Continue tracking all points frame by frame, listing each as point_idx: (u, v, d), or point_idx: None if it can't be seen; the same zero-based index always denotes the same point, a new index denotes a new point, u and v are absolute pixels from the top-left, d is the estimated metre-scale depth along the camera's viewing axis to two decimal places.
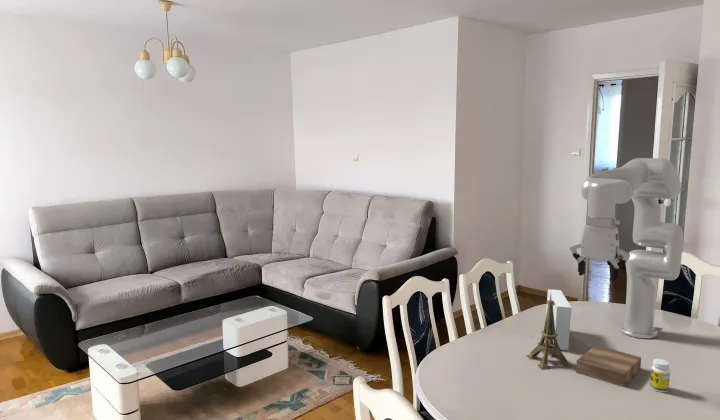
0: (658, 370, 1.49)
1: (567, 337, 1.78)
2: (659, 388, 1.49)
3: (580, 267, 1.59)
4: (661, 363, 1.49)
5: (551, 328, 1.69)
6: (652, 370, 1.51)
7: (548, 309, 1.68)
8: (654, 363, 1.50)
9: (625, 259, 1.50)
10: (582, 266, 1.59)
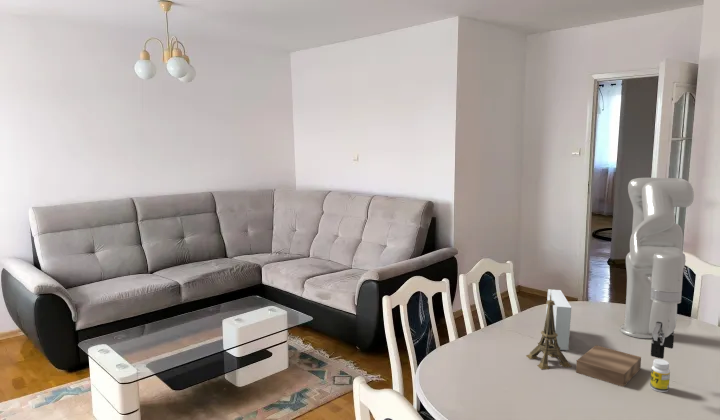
0: (658, 370, 1.49)
1: (567, 337, 1.78)
2: (659, 388, 1.49)
3: (663, 349, 1.45)
4: (662, 363, 1.49)
5: (551, 328, 1.69)
6: (652, 370, 1.51)
7: (548, 309, 1.68)
8: (654, 363, 1.50)
9: None
10: None
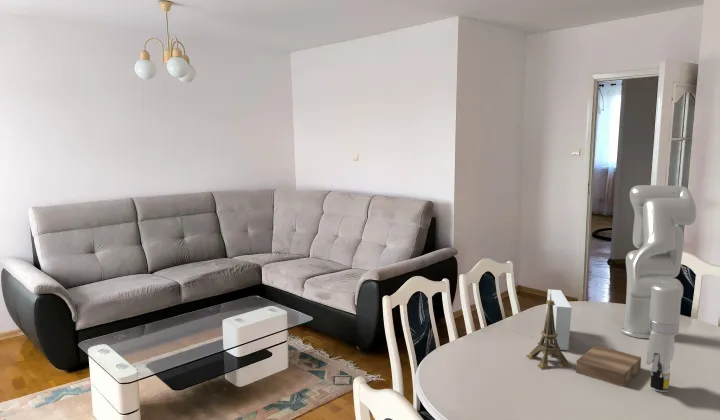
0: (658, 369, 1.49)
1: (567, 337, 1.78)
2: None
3: (663, 381, 1.48)
4: None
5: (551, 328, 1.69)
6: None
7: (548, 309, 1.68)
8: None
9: None
10: None
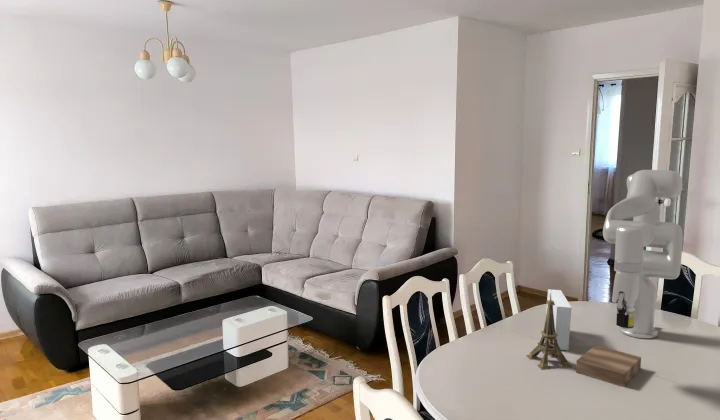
0: None
1: (567, 337, 1.78)
2: None
3: (628, 319, 1.54)
4: None
5: (551, 328, 1.69)
6: None
7: (548, 309, 1.68)
8: None
9: None
10: None
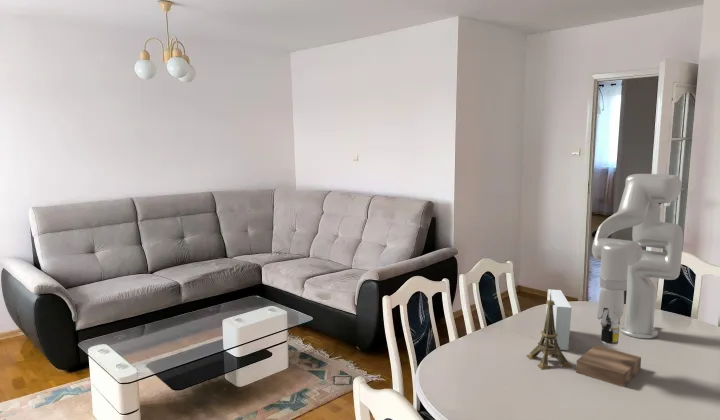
0: None
1: (567, 337, 1.78)
2: None
3: (612, 335, 1.58)
4: None
5: (551, 328, 1.69)
6: None
7: (548, 309, 1.68)
8: None
9: None
10: None
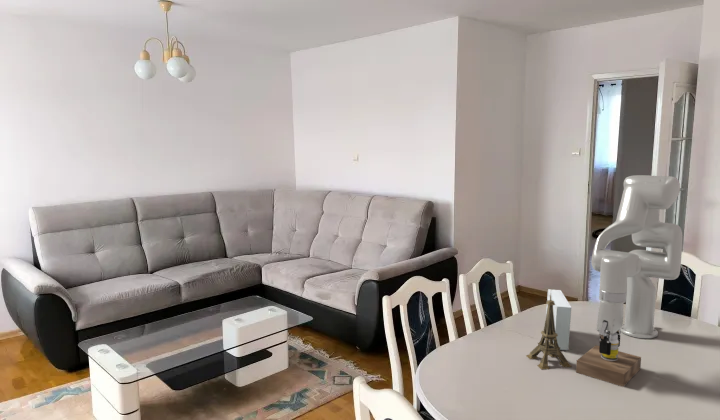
0: None
1: (567, 337, 1.78)
2: (608, 357, 1.61)
3: (610, 346, 1.58)
4: None
5: (551, 328, 1.69)
6: None
7: (548, 309, 1.68)
8: None
9: None
10: None
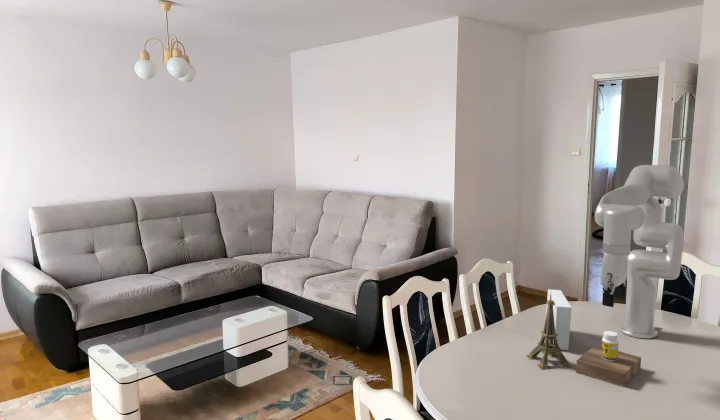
0: (607, 340, 1.60)
1: (567, 337, 1.78)
2: (608, 357, 1.61)
3: (613, 298, 1.56)
4: (610, 334, 1.60)
5: (551, 328, 1.69)
6: (602, 341, 1.62)
7: (548, 309, 1.68)
8: (604, 334, 1.62)
9: None
10: None
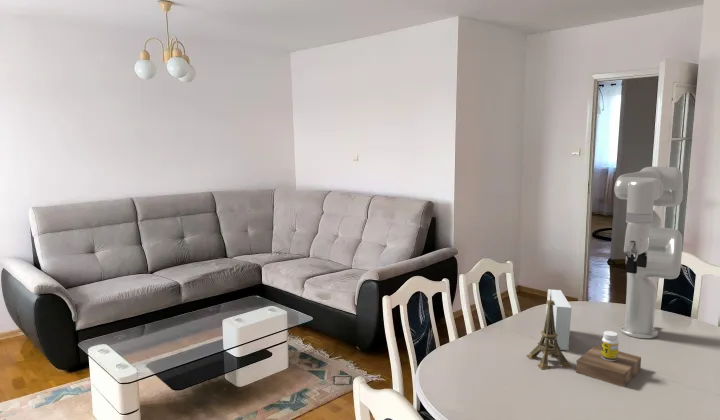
0: (607, 340, 1.61)
1: (567, 337, 1.78)
2: (608, 357, 1.61)
3: (637, 265, 1.63)
4: (610, 334, 1.60)
5: (551, 328, 1.69)
6: (602, 341, 1.62)
7: (548, 309, 1.68)
8: (604, 334, 1.62)
9: None
10: None
